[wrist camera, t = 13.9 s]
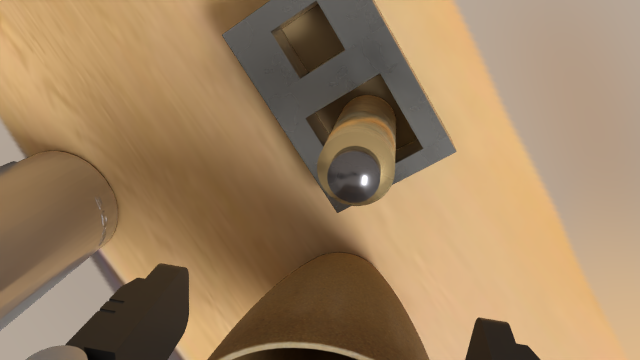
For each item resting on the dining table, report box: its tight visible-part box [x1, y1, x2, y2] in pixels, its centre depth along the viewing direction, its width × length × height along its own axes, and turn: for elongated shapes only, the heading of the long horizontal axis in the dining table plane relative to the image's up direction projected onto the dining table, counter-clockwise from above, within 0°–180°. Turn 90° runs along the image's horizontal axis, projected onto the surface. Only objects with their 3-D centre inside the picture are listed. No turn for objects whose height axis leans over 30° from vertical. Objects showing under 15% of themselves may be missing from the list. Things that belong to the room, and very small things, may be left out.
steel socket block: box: [222, 0, 456, 213], centre depth 31 cm, size 14×9×3 cm, turn 33°
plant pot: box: [208, 252, 429, 360], centre depth 31 cm, size 15×15×16 cm
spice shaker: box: [317, 95, 396, 206], centre depth 28 cm, size 4×4×11 cm
